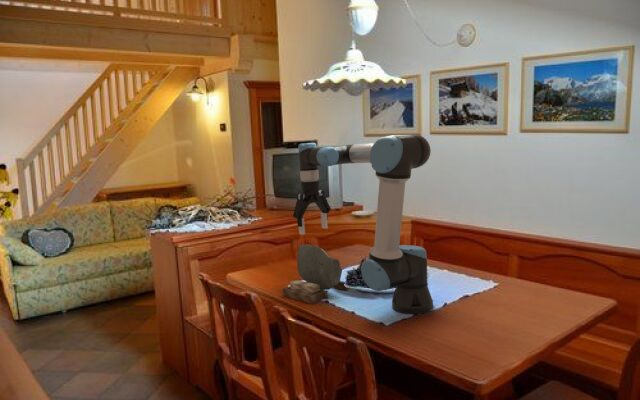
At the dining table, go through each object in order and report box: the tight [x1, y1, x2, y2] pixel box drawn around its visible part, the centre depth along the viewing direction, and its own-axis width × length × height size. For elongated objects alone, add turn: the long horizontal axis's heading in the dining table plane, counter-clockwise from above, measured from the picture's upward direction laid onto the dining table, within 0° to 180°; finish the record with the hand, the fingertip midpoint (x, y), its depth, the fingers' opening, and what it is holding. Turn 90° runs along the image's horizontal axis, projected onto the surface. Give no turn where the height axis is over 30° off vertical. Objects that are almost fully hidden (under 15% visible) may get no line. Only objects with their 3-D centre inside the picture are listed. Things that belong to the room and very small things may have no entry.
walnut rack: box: [282, 280, 350, 305], centre depth 204 cm, size 18×21×3 cm
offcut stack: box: [289, 279, 320, 295], centre depth 199 cm, size 14×4×6 cm, turn 47°
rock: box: [296, 243, 343, 291], centre depth 205 cm, size 27×6×20 cm, turn 41°
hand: (313, 231), depth 202 cm, fingers open, 13 cm apart
